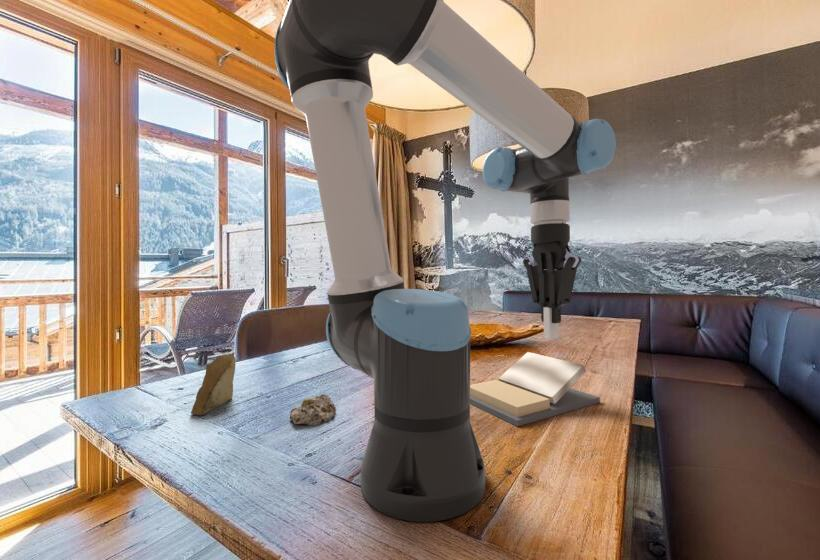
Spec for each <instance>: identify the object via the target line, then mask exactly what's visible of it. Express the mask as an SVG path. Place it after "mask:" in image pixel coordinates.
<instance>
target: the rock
mask: <svg viewBox="0 0 820 560" xmlns="http://www.w3.org/2000/svg"><path fill="white" fill-rule="evenodd" d="M236 360H237V359H236V357H235V356H234V355H233V354H231V353H227V354H224V353H223V354H222V355H219V356H218V357H217V358H215V359H213V360H212V362H210V363H209V364H207V365H206V366H205V374H204V377H203V380H202V385H201V386H200V387H199V388H198V391H197V393H196V397H195V402H194V404H193V405H192V408H191V412H190V414H191V415H197V416H203V415H205V414H207V413H208V412H211V411H213V410H215V409H216V408H218V407H220V406H222V405H223V404H226V402H228V401H230V400H232V398H233V395H234V377H235V372H236Z"/></svg>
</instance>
